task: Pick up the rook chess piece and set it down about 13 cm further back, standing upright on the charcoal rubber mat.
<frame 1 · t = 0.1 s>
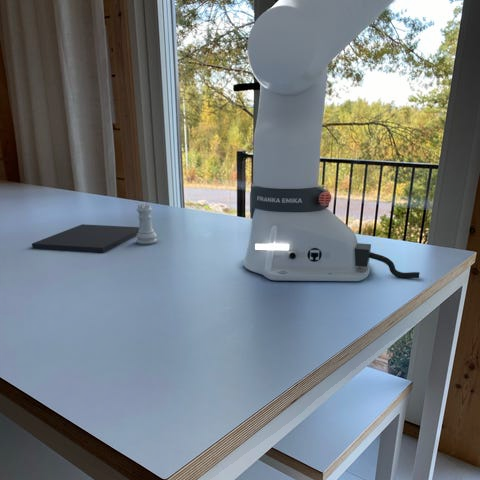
rook chess piece: (147, 243, 102), on the table
mat: (92, 239, 105), on the table
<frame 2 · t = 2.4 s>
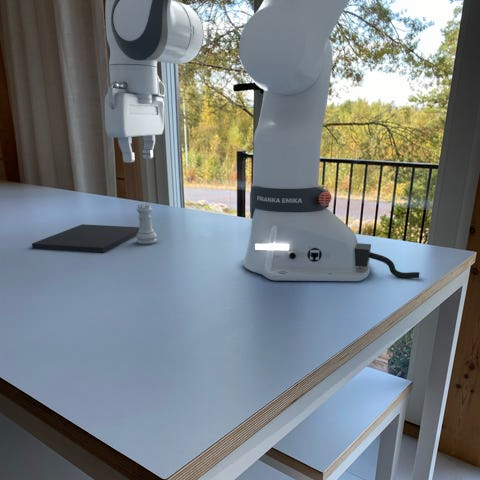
hand: (139, 160, 96), 17 cm above the table, tool pointing down, fingers open, 8 cm apart
nothing on the table moved.
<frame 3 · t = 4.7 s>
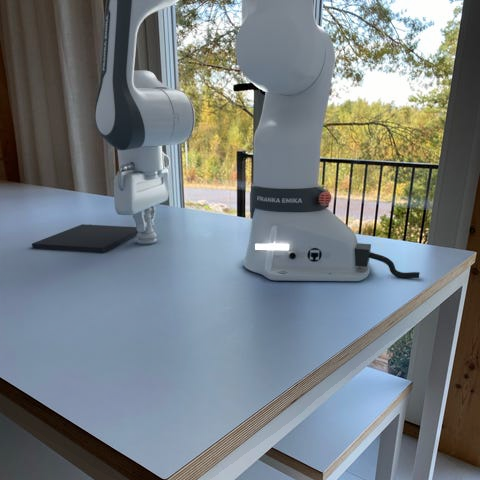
hand: (146, 229, 101), 3 cm above the table, tool pointing down, fingers closed on rook chess piece, 3 cm apart
rook chess piece: (146, 243, 102), on the table, touching gripper
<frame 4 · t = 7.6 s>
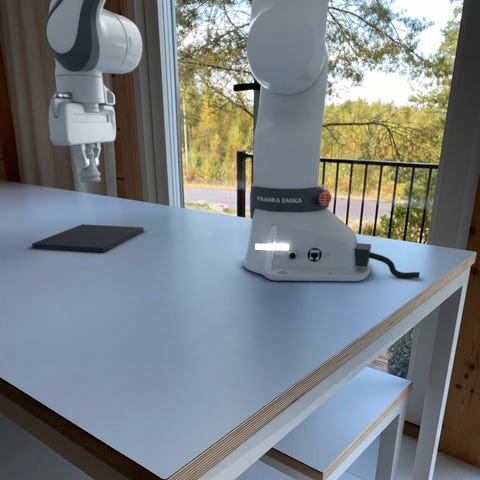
hand: (89, 167, 99), 15 cm above the table, tool pointing down, fingers closed on rook chess piece, 3 cm apart
rook chess piece: (90, 182, 100), point 12 cm above the table, touching gripper
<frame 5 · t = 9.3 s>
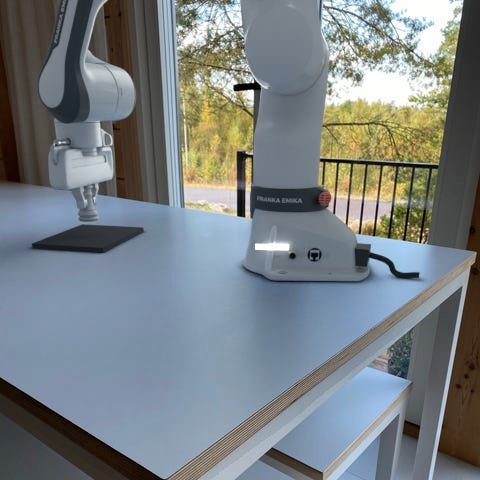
hand: (87, 206, 102), 7 cm above the table, tool pointing down, fingers closed on rook chess piece, 3 cm apart
rook chess piece: (88, 221, 103), point 4 cm above the table, touching gripper
when the fingers open (4 cm above the table, at t = 10.7 s): rook chess piece stays where it is, resting on mat.
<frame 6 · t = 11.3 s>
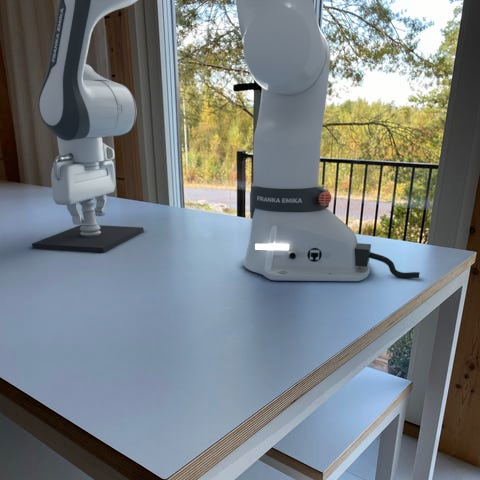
hand: (90, 219, 103), 4 cm above the table, tool pointing down, fingers open, 8 cm apart
rook chess piece: (91, 235, 105), point 1 cm above the table, touching mat
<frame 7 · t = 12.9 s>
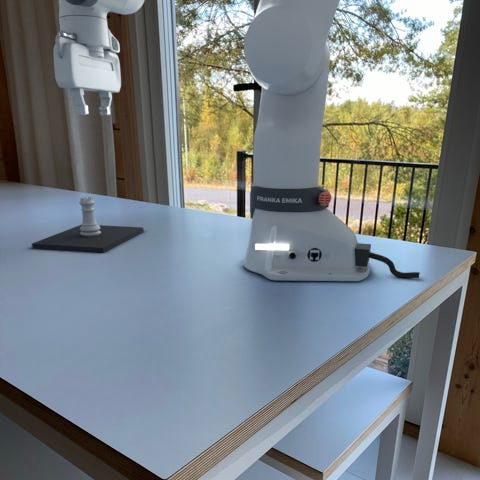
hand: (94, 115, 97), 25 cm above the table, tool pointing down, fingers open, 8 cm apart
nothing on the table moved.
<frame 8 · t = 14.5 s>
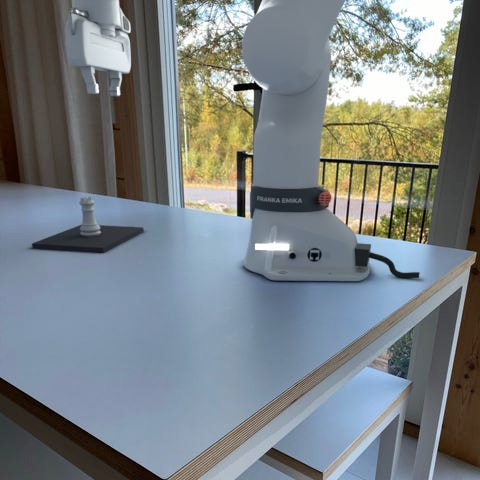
hand: (104, 95, 97), 29 cm above the table, tool pointing down, fingers open, 8 cm apart
nothing on the table moved.
at the end: rook chess piece inside the target area (0.1 cm from its centre), point 0.8 cm above the table; rook chess piece tilted 0°; rook chess piece moved 13.1 cm from its start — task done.
